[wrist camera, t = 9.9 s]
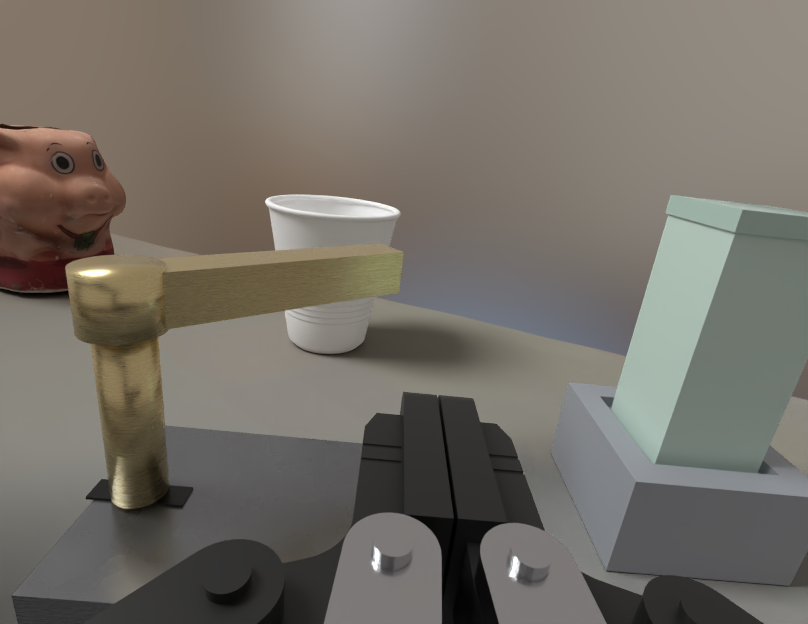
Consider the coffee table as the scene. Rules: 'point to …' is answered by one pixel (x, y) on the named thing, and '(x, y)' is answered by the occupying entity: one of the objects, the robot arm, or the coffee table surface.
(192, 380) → the coffee table surface
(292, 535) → the plate
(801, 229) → the cover
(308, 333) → the cup
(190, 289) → the brown piece
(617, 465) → the housing
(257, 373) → the coffee table surface
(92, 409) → the coffee table surface
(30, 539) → the coffee table surface
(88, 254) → the decorative planter
